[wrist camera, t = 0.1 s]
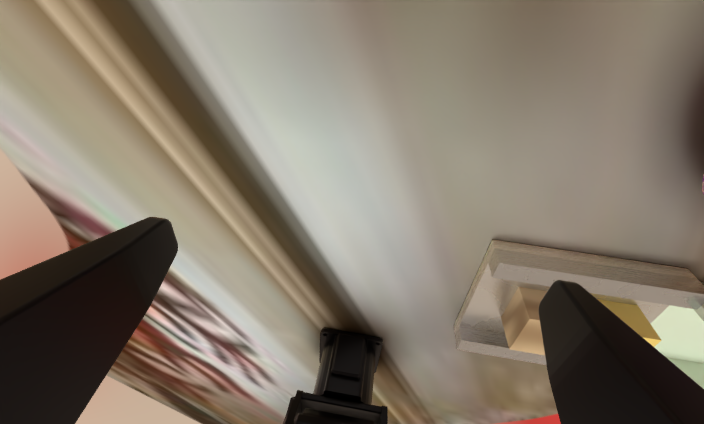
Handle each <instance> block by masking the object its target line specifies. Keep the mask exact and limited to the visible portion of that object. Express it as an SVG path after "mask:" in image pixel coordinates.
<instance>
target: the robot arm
mask: <svg viewBox="0 0 704 424" xmlns="http://www.w3.org/2000/svg"><path fill="white" fill-rule="evenodd" d="M177 251H178V243H177V240H176V237H175V234H174V231H173V228H172V224H171V222H170V221H169V220H167V219H164V218H157V217H149V218H146V219H144V220H141V221H139V222H136V223H134V224H132V225H129V226H127V227H125V228H122V229H120V230H117V231H115V232H113V233H110V234H108V235H106V236H103V237H101V238H98V239H96V240H94V241H91V242H89V243H87V244H84V245H82V246H79V247H77V248H75V249H72V250H70V251H68V252H65V253H63V254H60V255H58V256H56V257H53V258H51V259H49V260H46V261H44V262H41V263H39V264H37V265H34V266H32V267H30V268H27V269H25V270H22V271H20V272H18V273H15V274H13V275H10V276H8V277H6V278H3V279H1V280H0V424H75V423H76V421H77V420H78V418H79V417H80V415H81V413H82V412H83V410H84V409H85V407H86V405H87V404H88V403H89V401H90V399H91V398H92V396H93V395H94V393H95V392H96V390H97V389H98V387H99V385H100V383H101V382H102V381H103V379H104V378H105V376H106V375H107V373H108V371H109V370H110V368H111V367H112V365H113V364H114V362H115V361H116V359H117V357H118V356H119V354H120V353H121V351H122V350H123V348H124V347H125V345H126V343H127V342H128V340H129V339H130V337H131V336H132V334H133V333H134V331H135V329H136V328H137V326H138V325H139V323H140V322H141V320H142V319H143V317H144V315H145V314H146V312H147V310H148V309H149V307H150V305H151V303H152V301H153V300H154V298H155V296H156V294H157V292H158V290H159V288H160V286H161V284H162V282H163V280H164V278H165V276H166V274H167V272H168V270H169V268H170V266H171V264H172V262H173V260H174V258H175V256H176V254H177ZM538 312H539V319H540V326H541V332H542V338H543V345H544V351H545V358H546V364H547V370H548V375H549V380H550V384H551V388H552V392H553V396H554V399H555V403H556V407H557V411H558V414H559V418H560V422H561V424H704V389H703V388H702V387H701V386H700V385H698V384H697V383H696V382H695V381H694V380H692V379H691V378H690V377H689V376H688V375H687V374H685V373H684V372H683V371H682V370H681V369H679V368H678V367H677V366H676V365H675V364H673V363H672V362H671V361H670V360H669V359H668V358H666V357H665V356H664V355H663V354H662V353H660V352H659V351H658V350H657V349H656V348H654V347H653V346H652V345H651V344H650V343H649V342H647V341H646V340H645V339H644V338H643V337H641V336H640V335H639V334H638V333H637V332H635V331H634V330H633V329H632V328H631V327H630V326H628V325H627V324H626V323H625V322H624V321H622V320H621V319H620V318H619V317H618V316H616V315H615V314H614V313H613V312H612V311H611V310H609V309H608V308H607V307H606V306H605V305H603V304H602V303H601V302H600V301H599V300H597V299H596V298H595V297H594V296H593V295H591V294H590V293H589V292H588V291H587V290H586V289H584V288H583V287H582V286H581V285H579V284H578V283H575V282H570V281H564V280H557V281H555V282H553V284H552V285H551V287H550V288H549V290H548V291H547V293H546V294H545V296H544V297H543V299H542V300H541V302H540V304H539V311H538ZM382 344H383V340H382V339H381V338H378V337H372V336H366V335H360V334H355V333H349V332H343V331H337V330H331V329H322V330H321V335H320V367H319V371H318V376H317V380H316V385H315V389H314V393H313V394H310V393H305V392H303V391H300V390H297V393H296V396H295V397H292V398H291V400H290V403H289V407H288V410H287V414H286V417H285V419H284V422H283V424H387V407H386V406H381V407H380V406H375V405H371V402H372V391H373V379H374V373H375V372H376V369H377V365H378V361H379V357H380V353H381V349H382Z"/></svg>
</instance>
